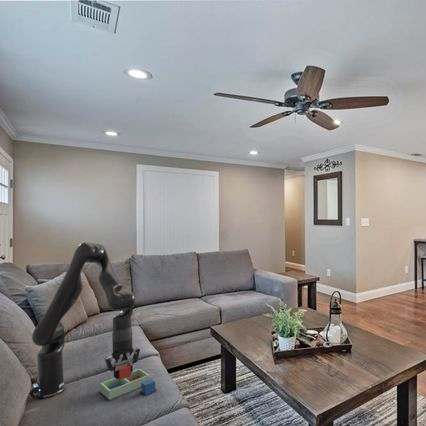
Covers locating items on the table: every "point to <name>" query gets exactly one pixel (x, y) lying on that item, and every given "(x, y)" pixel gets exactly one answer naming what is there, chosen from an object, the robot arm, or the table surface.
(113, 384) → the sorting tray
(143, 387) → the blue block
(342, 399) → the table surface
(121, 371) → the red block
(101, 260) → the robot arm
